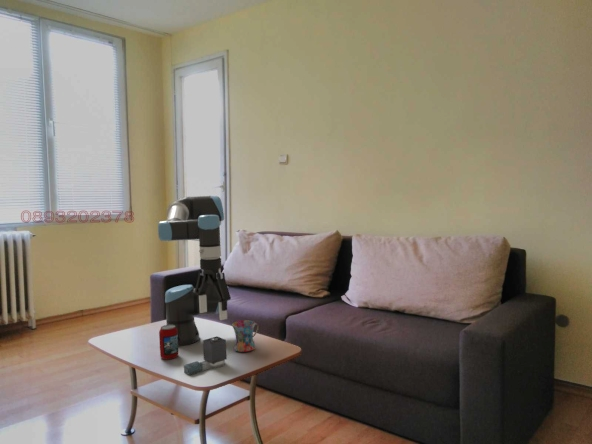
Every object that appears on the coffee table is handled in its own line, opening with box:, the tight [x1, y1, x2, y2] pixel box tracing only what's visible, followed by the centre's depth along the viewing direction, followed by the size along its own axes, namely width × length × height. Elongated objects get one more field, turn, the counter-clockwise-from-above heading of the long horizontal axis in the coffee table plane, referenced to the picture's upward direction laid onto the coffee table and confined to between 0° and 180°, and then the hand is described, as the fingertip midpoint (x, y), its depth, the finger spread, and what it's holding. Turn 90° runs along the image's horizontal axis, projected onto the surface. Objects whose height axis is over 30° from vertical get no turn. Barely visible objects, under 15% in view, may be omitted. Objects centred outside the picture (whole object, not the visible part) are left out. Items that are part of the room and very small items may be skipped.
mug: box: [231, 319, 260, 353], centre depth 179 cm, size 12×9×11 cm
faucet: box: [183, 360, 226, 376], centre depth 161 cm, size 7×15×7 cm, turn 132°
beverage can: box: [158, 324, 179, 360], centre depth 173 cm, size 7×7×12 cm
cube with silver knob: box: [202, 336, 228, 364], centre depth 163 cm, size 6×6×8 cm
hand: (213, 315), depth 163 cm, fingers open, 13 cm apart
